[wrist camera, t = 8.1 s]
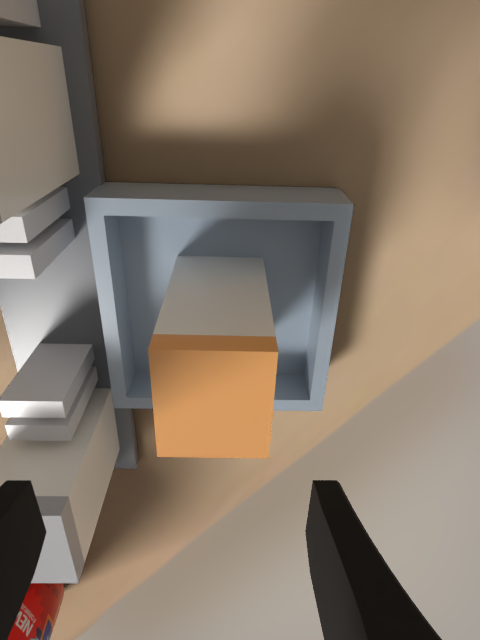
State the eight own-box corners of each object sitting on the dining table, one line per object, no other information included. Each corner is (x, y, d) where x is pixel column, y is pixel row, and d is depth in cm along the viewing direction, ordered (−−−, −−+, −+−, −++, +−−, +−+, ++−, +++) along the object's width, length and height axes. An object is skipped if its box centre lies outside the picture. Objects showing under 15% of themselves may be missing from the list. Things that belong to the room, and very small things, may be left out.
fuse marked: (180, 338, 20) (157, 456, 14) (177, 255, 18) (148, 349, 12) (258, 340, 20) (268, 458, 14) (263, 257, 18) (278, 352, 12)
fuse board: (47, 459, 24) (11, 535, 20) (-76, -13, 14) (-201, -49, 10) (138, 460, 24) (119, 536, 20) (83, -7, 14) (22, -40, 10)
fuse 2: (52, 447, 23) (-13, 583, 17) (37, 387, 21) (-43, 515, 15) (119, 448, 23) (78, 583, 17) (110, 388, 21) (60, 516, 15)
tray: (126, 374, 21) (114, 408, 19) (102, 181, 17) (83, 197, 15) (313, 377, 22) (321, 411, 19) (338, 187, 17) (354, 204, 15)
